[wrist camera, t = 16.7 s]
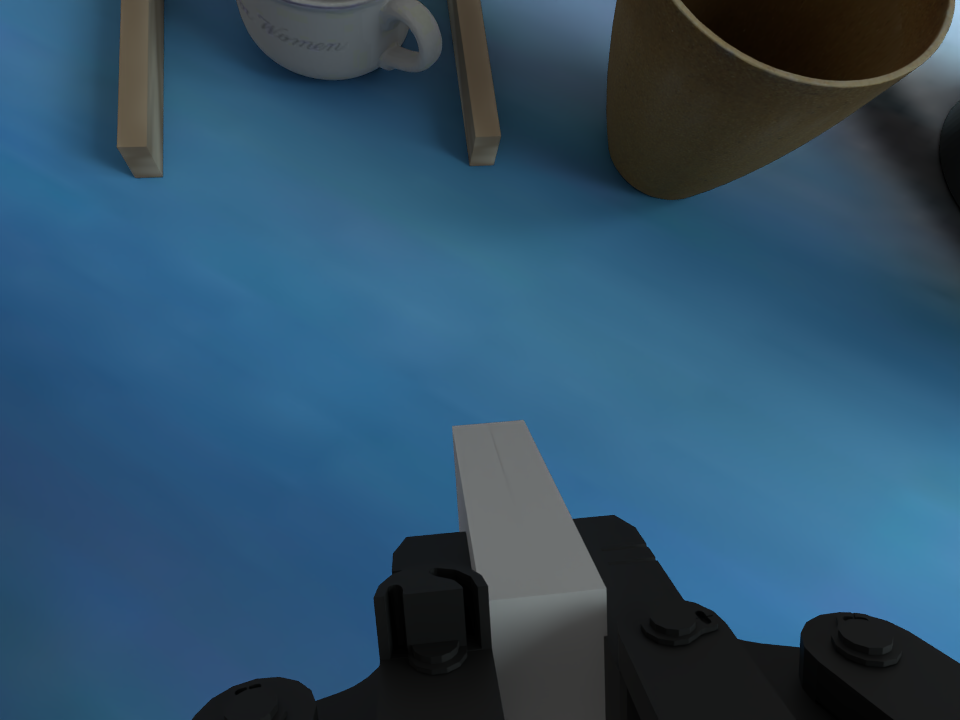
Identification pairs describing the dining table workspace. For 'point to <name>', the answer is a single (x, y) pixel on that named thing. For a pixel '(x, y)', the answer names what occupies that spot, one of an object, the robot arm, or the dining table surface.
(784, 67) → the plant pot
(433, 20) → the teacup
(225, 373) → the dining table surface
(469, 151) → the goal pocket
